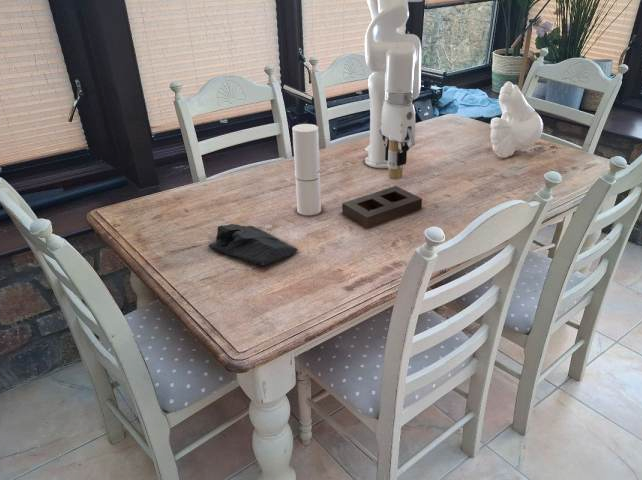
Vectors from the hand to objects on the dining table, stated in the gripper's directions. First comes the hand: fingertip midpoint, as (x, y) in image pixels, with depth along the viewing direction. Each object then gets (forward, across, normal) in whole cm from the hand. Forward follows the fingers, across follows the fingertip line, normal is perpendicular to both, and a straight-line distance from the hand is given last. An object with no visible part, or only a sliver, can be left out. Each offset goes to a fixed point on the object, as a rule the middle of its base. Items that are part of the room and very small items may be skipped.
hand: (395, 161), depth 156 cm
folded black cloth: (+15, +3, +46) cm, 49 cm away
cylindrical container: (+15, +14, +22) cm, 30 cm away
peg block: (+15, 0, +4) cm, 15 cm away
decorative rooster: (+15, +11, -66) cm, 69 cm away
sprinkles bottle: (+5, 0, 0) cm, 5 cm away
